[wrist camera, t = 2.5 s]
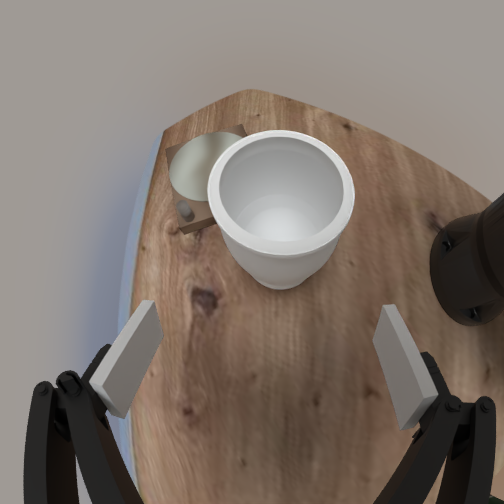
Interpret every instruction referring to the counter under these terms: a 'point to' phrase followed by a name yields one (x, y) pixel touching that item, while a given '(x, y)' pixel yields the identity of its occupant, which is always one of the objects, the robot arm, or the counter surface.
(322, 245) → the jar
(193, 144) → the seat board
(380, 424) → the counter surface
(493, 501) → the beer bottle
